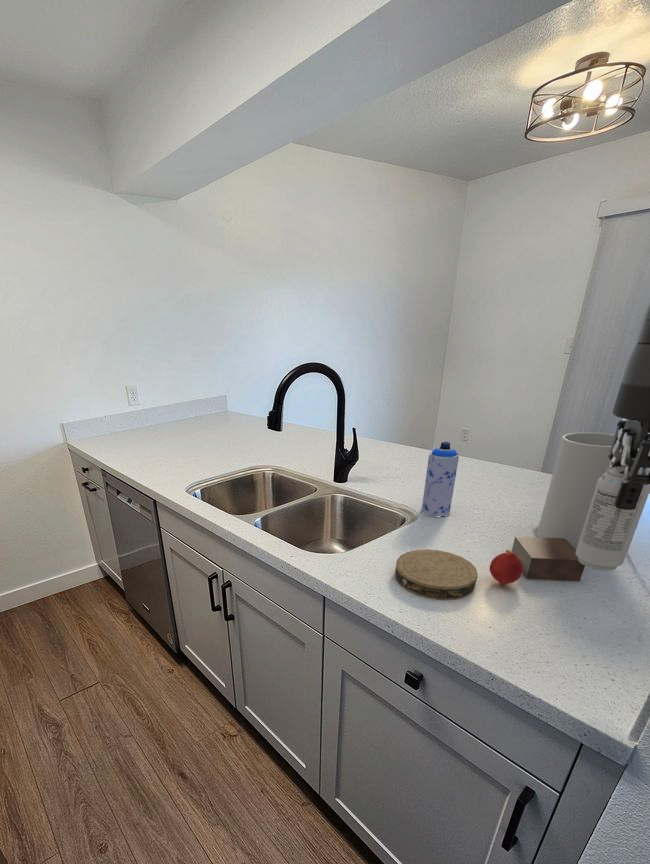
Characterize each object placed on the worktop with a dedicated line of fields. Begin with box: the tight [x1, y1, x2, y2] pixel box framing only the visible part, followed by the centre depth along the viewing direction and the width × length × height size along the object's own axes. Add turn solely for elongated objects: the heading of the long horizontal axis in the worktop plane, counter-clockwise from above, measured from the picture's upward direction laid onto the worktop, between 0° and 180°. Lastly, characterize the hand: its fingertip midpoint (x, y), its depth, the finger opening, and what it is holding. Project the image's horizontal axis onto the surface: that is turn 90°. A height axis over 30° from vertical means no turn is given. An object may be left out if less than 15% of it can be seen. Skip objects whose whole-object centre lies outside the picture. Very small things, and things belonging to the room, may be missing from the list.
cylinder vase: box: [535, 432, 622, 550], centre depth 98 cm, size 12×12×25 cm
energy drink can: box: [576, 466, 650, 571], centre depth 65 cm, size 6×6×15 cm
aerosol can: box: [420, 441, 460, 517], centre depth 120 cm, size 8×8×20 cm
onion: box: [489, 549, 523, 586], centre depth 88 cm, size 6×6×8 cm
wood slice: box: [394, 548, 479, 601], centre depth 92 cm, size 16×16×3 cm
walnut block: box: [511, 536, 586, 582], centre depth 93 cm, size 10×10×5 cm
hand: (618, 499), depth 64 cm, fingers closed on energy drink can, 6 cm apart
